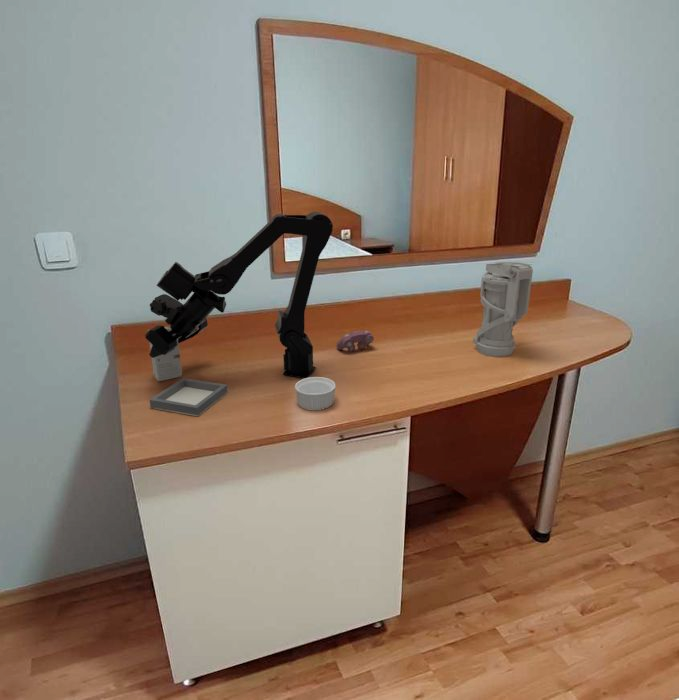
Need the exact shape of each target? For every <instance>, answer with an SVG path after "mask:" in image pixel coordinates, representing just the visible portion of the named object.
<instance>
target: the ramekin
mask: <svg viewBox="0 0 679 700" xmlns="http://www.w3.org/2000/svg"><path fill="white" fill-rule="evenodd" d="M294 390H295V394H296V400H297V404H298V405H299V407H301V408H302V407H303V408H302V409H304V408H305V409H304V410H307V409H310V410H309V411H320V410H319V409H322V410H324V409H323V408H326V409H328V408H330V407H331V406H332V405H333V404H334V402H335V390H336V382H334V380H332V379H331V378H328V377H322V376H308V377H307V378H302V379H301V380H299V381H297V382H296V383H295V385H294ZM329 406H330V407H329ZM327 407H328V408H327Z"/></svg>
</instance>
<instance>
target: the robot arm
mask: <svg viewBox="0 0 679 700" xmlns="http://www.w3.org/2000/svg"><path fill="white" fill-rule="evenodd" d="M333 225H334V224H333V223H332V221H331V219H330V218H329V216H328V215H325V214H324V213H322V212H319V211H311V212H309V213H308V214H306V215H305V214H283V213H278V214H277V213H276V214H274V215H273V216H272V218H271V219H270V220H269V222H267V223H266V224H265V225H264V226H263V227H262V228H261V229H260V230H258V232H257V233H255V234H254V235H253V236H252V238H250V239H249V240H248V241H247V242H246V243H245V244H244V245H242V247H241V248H240V249H238V251H236V252H235V253H234V254H232V255H231V256H229V257H226V258H225V259H223V260H221V261H220V262H218V263H216V264H215V265H214V266H212V267H211V268H210V269H209V270H208V271H204V272H200V273H196V274H193V273H191V272H189V271H188V270H187V269H185V268H184V267H183V266H182V265H181V264H180V263H178V262H177V261H174V263H173V264H172V265H171V266H170V268H169V269H168V270H166V271H165V272H164V273H163V274H162V276H161V278H160V279H159V281H158V282H157V284H156V287H158V288H159V289H160V290H162V291H164V292H165V293H163V294H161V295H158V296H156V297H154V298H153V300H151V301H152V302H151V303H149V307H150V309H149V310H150V312H152V313H154V314H155V315H157V316H159V317H160V316H162V317H164V318H165V320H164V322H165V323H166V324H167V325H169V326H168V327H170V328H171V329H172V330H171V331H168V330H167V329H166V328H165V327H166V326H164V325H159V324H158V325H156V326H154V327H152V328H150V329H148V330H149V331H148V330H147V332H146V333H145V334H144V337H145V339H146V340H147V341H148V343H149V342H150V343H151V344H152V345H153V346H152V349H151V351H150V352H149V356H150V358H151V357H152V358H154V357H157V356H160V355H162V354H163V355H166V354H167V353H169V352H171V351H172V350H174V349H175V347H176V346H177V339H178V344H180V343H183V342H185V341H187V340H190V339H192V338H194V337H196V336H197V335H199V334H200V333H202V332H203V331H204V330H205V329H206V328H207V327H208V320H207V319H208V316H209V315H210V314H211V313H212V312H213V311H214V310H215V309H216V310H217V311H218V312H220V313H221V314H222V313H224V312H225V310H226V307H227V301H226V297H225V296H224V295H227V294H228V293H230V292H231V291H232V290H233V288H235V286H236V285H237V284H238V282H239V281H240V279H241V277H242V276H243V274H244V273H245V272H246V270H247V268H248V267H250V266H251V265H252V264H253V263H254V262H255V261H256V260H257V259H258V258H259V257H260V256H261V255H262V254H264V253H265V251H267V250H268V249H269V248H270V247H272V245H273V244H274V243H276V241H278V239H280V238H281V237H282V236H283V235H284V234H288V235H298V236H301V238H302V242H301V243H302V245H301V246H302V249H301V253H300V258H299V261H298V264H297V269H296V273H295V277H294V281H293V285H292V289H291V293H290V296H289V302H288V304H287V306H286V308H285V310H284V311H282V310H278V312H277V313H278V314H277V321H276V322H275V324H274V327H275V329H276V333H277V335H278V339H279V342H280V343H281V345H282V346H283V347H285V349H284V354H283V370H284V371H283V372H282V375H283V376H289V377H296V378H302V379H305V378H309V377H310V375H311V374H313V373H314V372H315V370H316V369H317V366H314V351H313V350H314V346H313V344H312V341H311V339H310V338H309V335H308V334H307V333H305V326H306V325H305V311H306V307H307V304H308V299H309V297H310V293H311V288H312V285H313V282H314V277H315V274H316V270H317V266H318V262H319V258H320V256H321V254H322V252H323V250H324V249H325V247H326V246H327V245H328V242H329V239H330V238H331V236H332V233H333V229H334V226H333ZM190 294H192V295H191V296H190ZM220 295H221V296H220ZM222 295H223V296H222ZM189 296H190V297H189ZM188 297H189V298H188ZM187 298H188V299H187ZM179 300H181V301H183V300H186V301H185V302H184V303H182V302H181V301H179ZM197 328H198V329H197ZM175 334H176V335H175ZM150 343H149V344H150ZM152 358H151V359H152Z"/></svg>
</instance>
